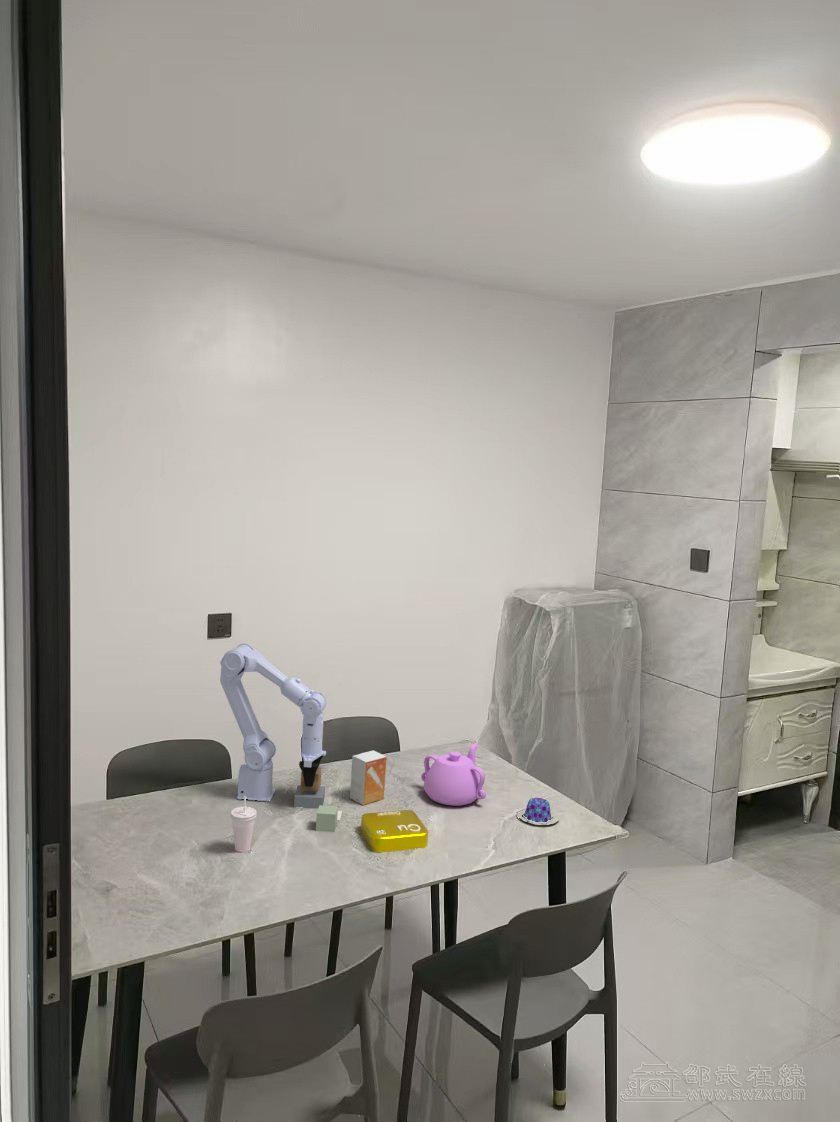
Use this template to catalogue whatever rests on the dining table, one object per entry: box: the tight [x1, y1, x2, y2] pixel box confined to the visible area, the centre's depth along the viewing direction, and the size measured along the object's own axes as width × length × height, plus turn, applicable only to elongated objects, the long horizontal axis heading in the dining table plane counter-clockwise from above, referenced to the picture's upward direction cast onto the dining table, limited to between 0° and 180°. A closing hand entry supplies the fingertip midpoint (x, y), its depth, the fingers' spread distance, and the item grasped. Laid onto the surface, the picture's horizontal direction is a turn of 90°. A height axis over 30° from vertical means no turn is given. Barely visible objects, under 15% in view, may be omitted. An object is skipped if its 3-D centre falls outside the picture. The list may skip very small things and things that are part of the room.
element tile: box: [360, 809, 429, 854], centre depth 220 cm, size 15×15×5 cm
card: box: [337, 810, 343, 822], centre depth 231 cm, size 6×6×1 cm
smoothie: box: [230, 796, 258, 853], centre depth 209 cm, size 6×6×14 cm
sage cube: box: [315, 804, 339, 833], centre depth 224 cm, size 5×5×5 cm
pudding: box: [516, 797, 552, 822], centre depth 237 cm, size 12×12×5 cm
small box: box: [349, 749, 388, 806], centre depth 243 cm, size 8×6×13 cm
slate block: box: [293, 784, 326, 809], centre depth 239 cm, size 8×8×4 cm
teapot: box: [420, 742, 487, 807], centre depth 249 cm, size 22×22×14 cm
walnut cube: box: [300, 767, 322, 791], centre depth 238 cm, size 5×5×5 cm
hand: (310, 782), depth 238 cm, fingers closed on walnut cube, 5 cm apart
